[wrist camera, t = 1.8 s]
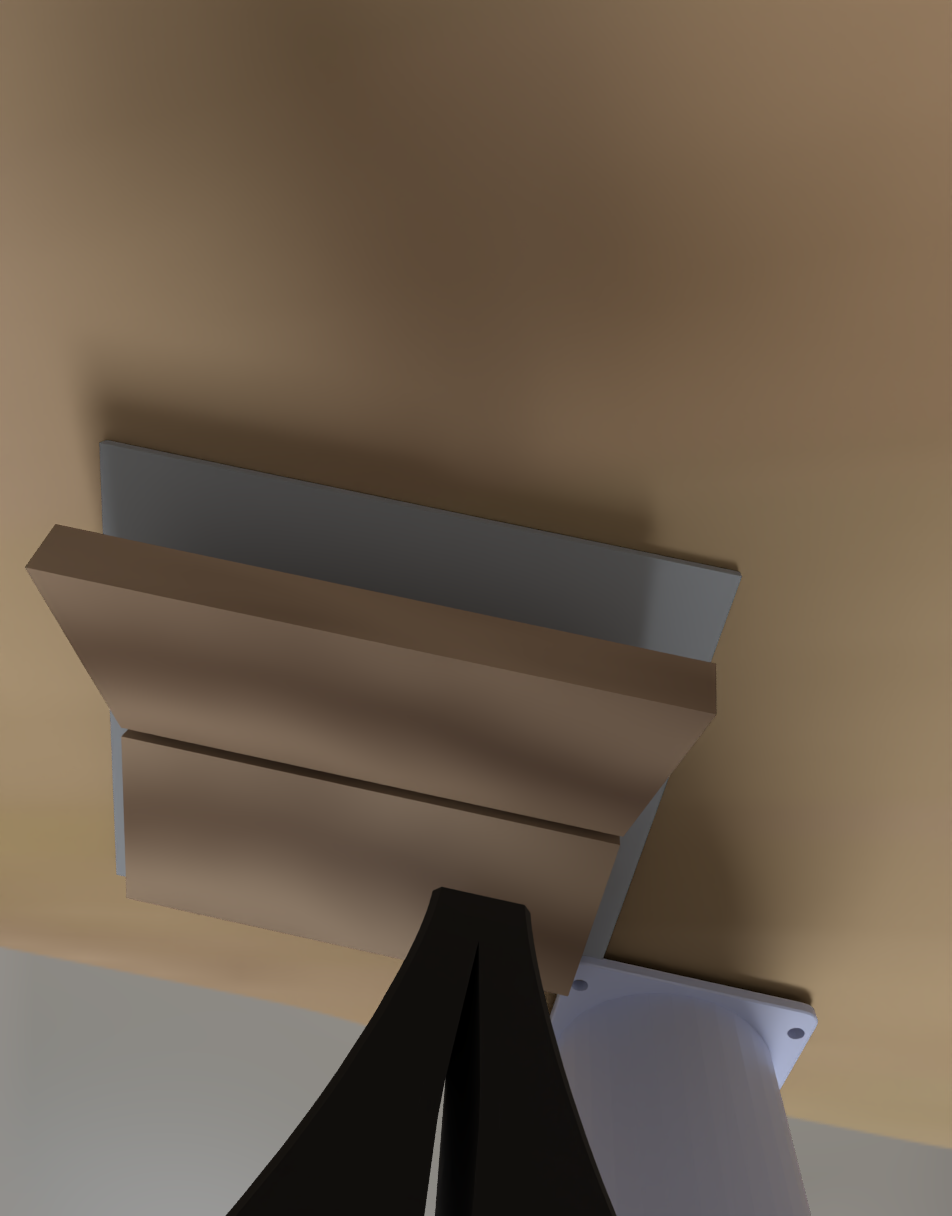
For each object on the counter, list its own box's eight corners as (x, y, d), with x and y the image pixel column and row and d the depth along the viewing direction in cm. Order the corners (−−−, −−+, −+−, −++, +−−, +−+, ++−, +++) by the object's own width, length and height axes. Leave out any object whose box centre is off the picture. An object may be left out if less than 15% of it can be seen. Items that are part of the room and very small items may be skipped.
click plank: (625, 795, 21) (623, 836, 20) (140, 690, 21) (121, 727, 21) (716, 663, 16) (716, 714, 15) (55, 524, 16) (24, 567, 15)
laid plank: (567, 963, 24) (567, 996, 23) (145, 869, 25) (126, 897, 24) (617, 815, 22) (620, 845, 21) (143, 712, 22) (121, 736, 21)
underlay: (594, 972, 25) (594, 980, 25) (121, 867, 25) (116, 874, 25) (739, 571, 18) (741, 576, 18) (106, 439, 19) (99, 442, 19)
